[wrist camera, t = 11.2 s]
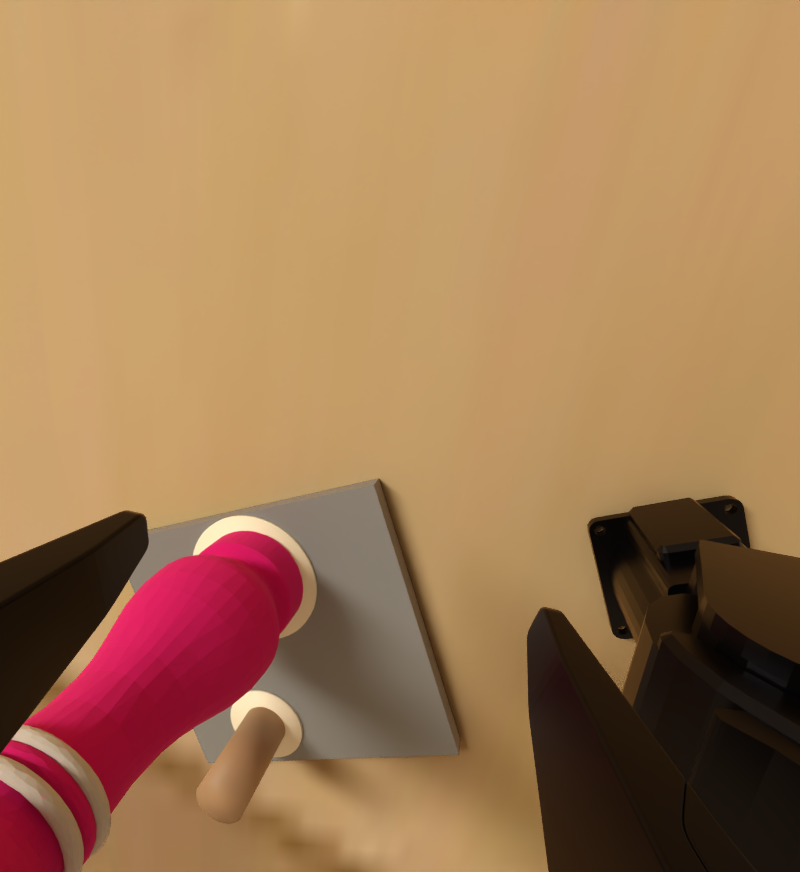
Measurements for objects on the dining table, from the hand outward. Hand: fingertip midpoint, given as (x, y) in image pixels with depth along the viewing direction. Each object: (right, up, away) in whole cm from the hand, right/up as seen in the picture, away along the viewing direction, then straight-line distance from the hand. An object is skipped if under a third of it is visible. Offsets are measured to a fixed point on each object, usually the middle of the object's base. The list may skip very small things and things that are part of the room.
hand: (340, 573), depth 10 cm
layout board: (-6, -9, +17) cm, 21 cm away
